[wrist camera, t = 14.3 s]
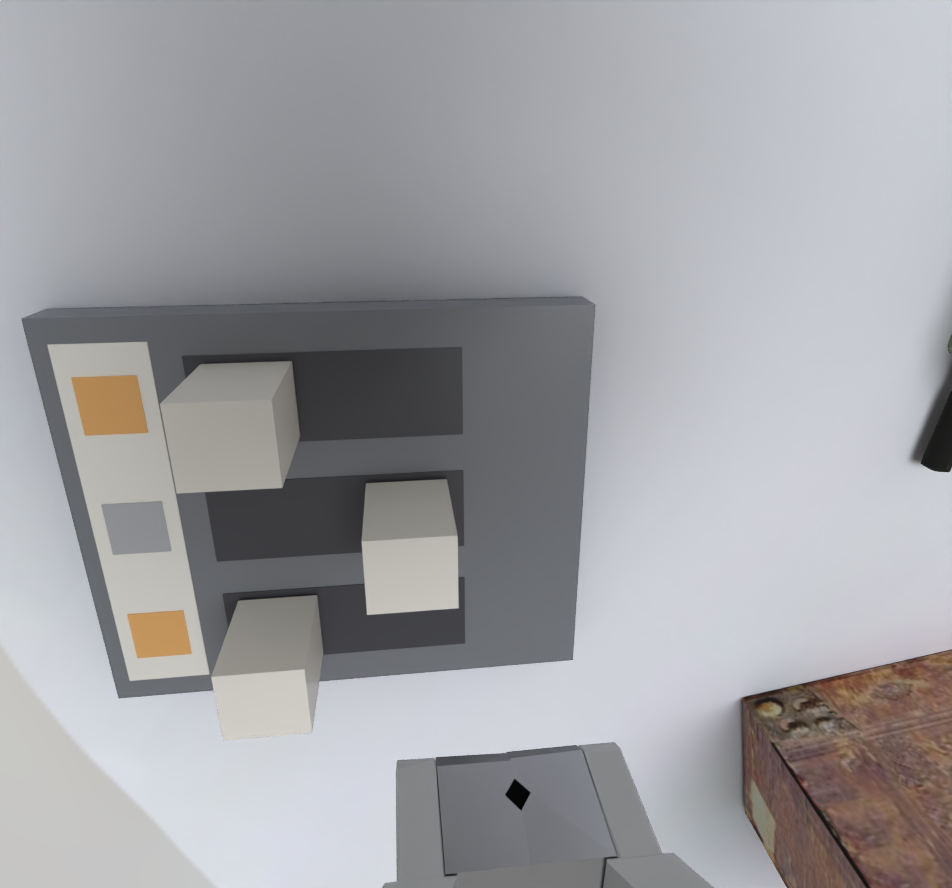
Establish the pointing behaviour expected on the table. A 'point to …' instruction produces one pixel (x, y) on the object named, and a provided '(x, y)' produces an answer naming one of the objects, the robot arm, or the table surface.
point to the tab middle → (409, 547)
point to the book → (855, 777)
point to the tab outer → (269, 668)
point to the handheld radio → (941, 439)
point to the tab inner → (232, 427)
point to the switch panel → (327, 476)
